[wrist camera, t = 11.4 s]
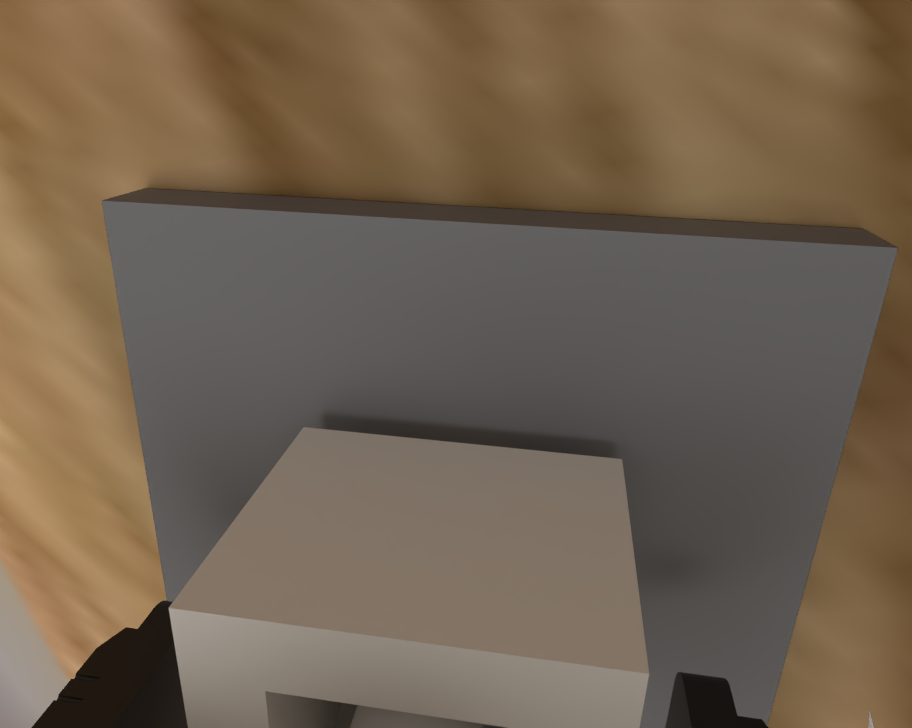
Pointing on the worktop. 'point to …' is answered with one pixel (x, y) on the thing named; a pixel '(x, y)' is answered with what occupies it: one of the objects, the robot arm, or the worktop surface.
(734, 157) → the worktop surface
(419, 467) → the collar
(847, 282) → the post base
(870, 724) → the scissors
